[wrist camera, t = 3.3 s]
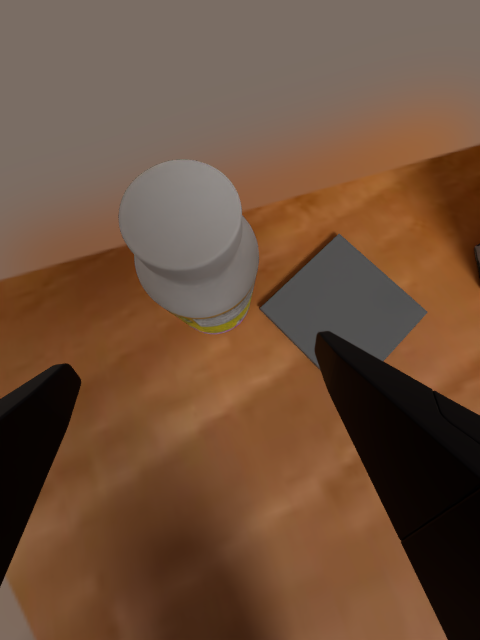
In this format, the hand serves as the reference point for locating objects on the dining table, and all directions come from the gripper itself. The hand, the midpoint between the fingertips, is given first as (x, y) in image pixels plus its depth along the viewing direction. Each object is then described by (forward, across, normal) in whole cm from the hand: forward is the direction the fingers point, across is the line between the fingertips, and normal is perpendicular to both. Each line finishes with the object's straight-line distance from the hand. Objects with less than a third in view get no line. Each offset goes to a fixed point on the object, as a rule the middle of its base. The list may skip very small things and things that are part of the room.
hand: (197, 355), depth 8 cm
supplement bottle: (+12, 0, +5) cm, 13 cm away
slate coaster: (+10, -12, +6) cm, 17 cm away
